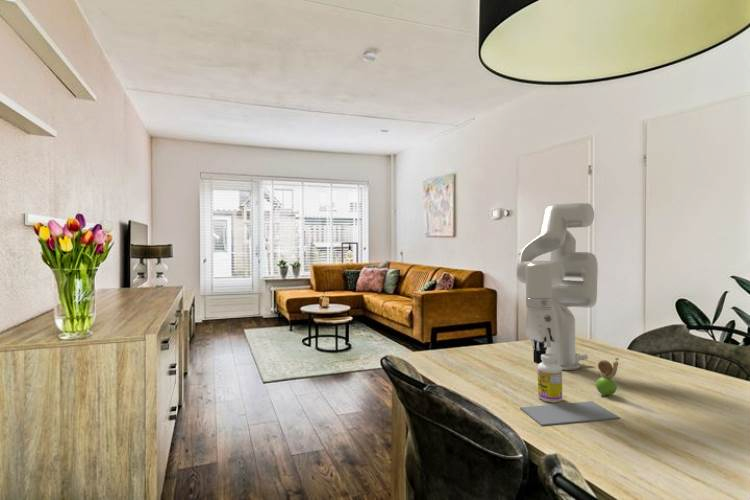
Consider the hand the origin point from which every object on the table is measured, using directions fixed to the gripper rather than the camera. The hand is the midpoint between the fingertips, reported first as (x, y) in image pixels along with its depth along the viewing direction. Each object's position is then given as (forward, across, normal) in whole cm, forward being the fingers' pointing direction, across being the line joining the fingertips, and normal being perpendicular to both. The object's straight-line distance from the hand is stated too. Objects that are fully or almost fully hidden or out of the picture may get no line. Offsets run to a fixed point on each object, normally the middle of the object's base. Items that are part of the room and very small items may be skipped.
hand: (539, 362), depth 129 cm
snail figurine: (+9, -6, -18) cm, 21 cm away
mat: (+9, -16, +1) cm, 18 cm away
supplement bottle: (+10, -5, 0) cm, 11 cm away
